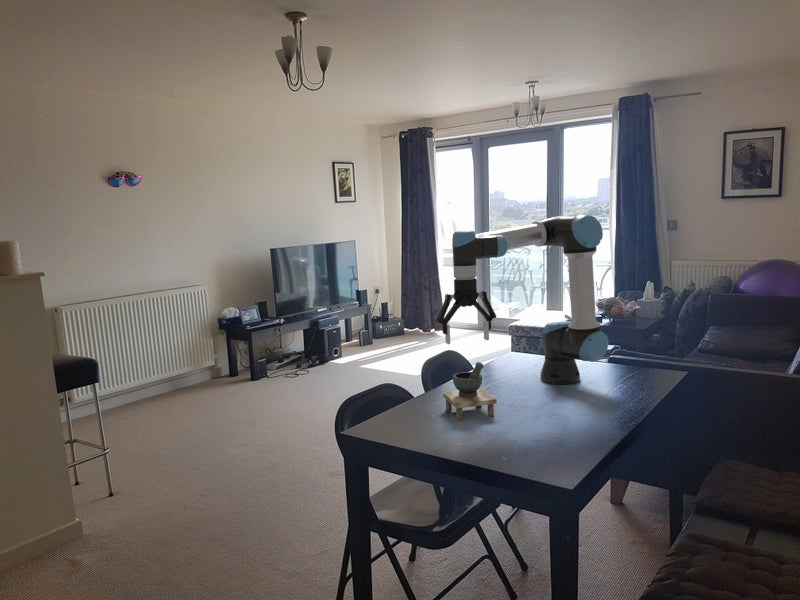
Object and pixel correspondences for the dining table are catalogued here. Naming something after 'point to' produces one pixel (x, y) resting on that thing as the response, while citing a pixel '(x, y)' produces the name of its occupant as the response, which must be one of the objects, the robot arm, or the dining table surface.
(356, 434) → the dining table surface
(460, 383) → the mortar and pestle
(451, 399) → the oak footstool
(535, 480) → the dining table surface
